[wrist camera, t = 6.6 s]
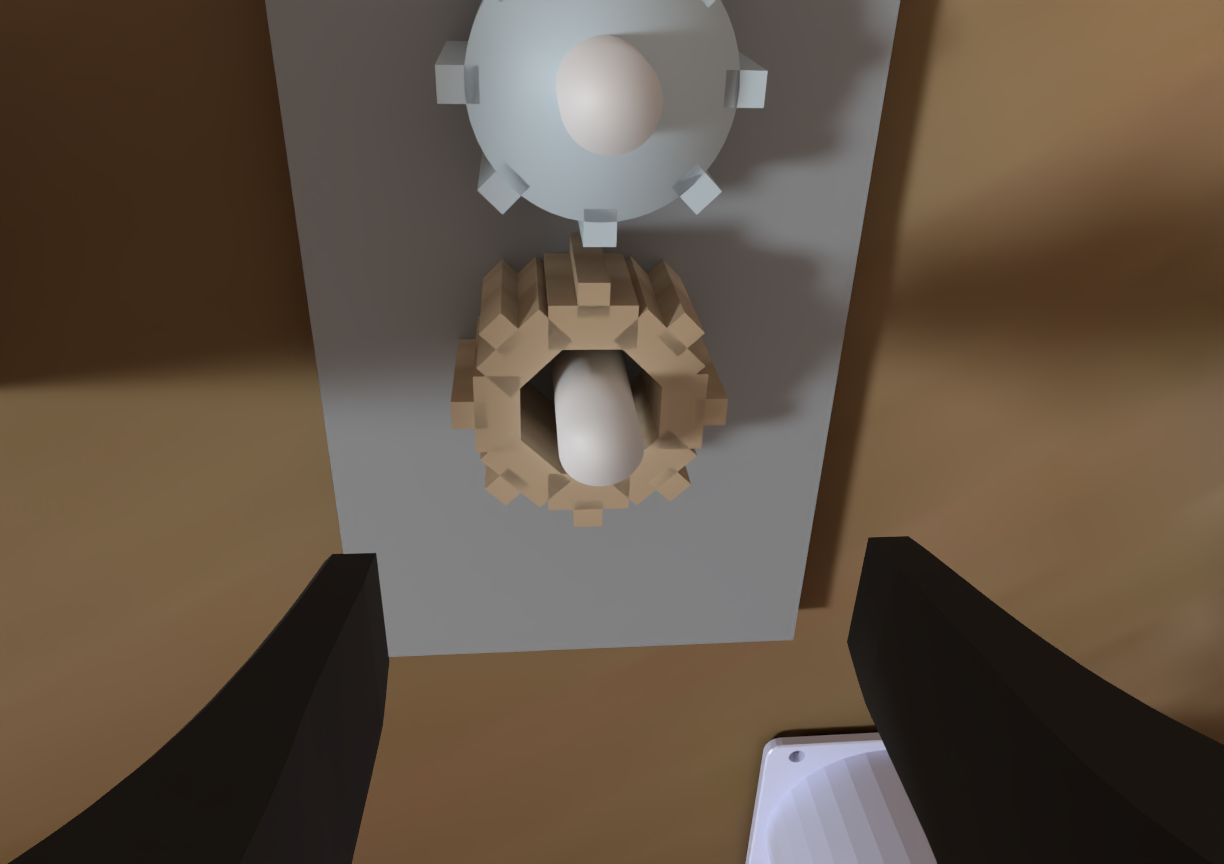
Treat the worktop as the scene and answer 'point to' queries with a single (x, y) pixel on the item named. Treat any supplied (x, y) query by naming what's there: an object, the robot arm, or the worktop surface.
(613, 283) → the loose gear
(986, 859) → the robot arm
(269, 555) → the worktop surface
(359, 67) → the gear board
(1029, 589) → the worktop surface
